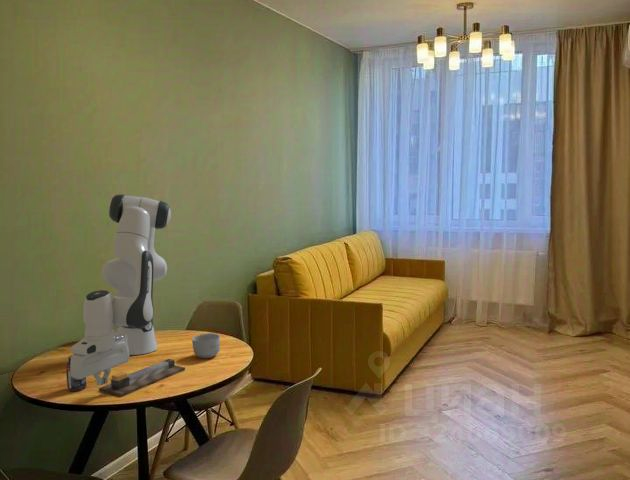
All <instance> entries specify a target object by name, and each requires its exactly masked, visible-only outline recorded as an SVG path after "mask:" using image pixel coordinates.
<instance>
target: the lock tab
mask: <svg viewBox="0 0 630 480" xmlns="http://www.w3.org/2000/svg"><path fill="white" fill-rule="evenodd" d="M127 375H128V373H127V372H123V371H120V372H118V373H115V374H112V375H111V380H115V381H119V380H122V379H124V378H127Z"/></svg>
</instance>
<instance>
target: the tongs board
mask: <svg viewBox="0 0 630 480" xmlns="http://www.w3.org/2000/svg"><path fill="white" fill-rule="evenodd" d="M175 363H176V362H175ZM175 363H174V364H171V365H169V366H166V367H164V368H161V369H159V370H156V371H154V372H151V373H149V374H146V375H144V376H141V377H139V378H136V379H134V380H131V381H129V377H127V378H124V379H122V380H119V381H115V380H112V379H110V383H108V384H105V385H103V386H101V387H98V392H102V393H105V394H110V395H114V396H117V397H121V398H123V397H125V396H127V395H130V394H132V393H134V392H136V391H140V390H141V389H143V388H146V387H149V386H150V385H153V384H154V383H157V382H160V381H163V380H165V379H167V378H169V377H172V376H175V375H177V374H179V373H180V372H183V371H186V367H184V366H180V365H175Z"/></svg>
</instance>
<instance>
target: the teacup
mask: <svg viewBox="0 0 630 480" xmlns="http://www.w3.org/2000/svg"><path fill="white" fill-rule="evenodd" d="M220 340H221V339H220V334H217V333H212V332H207V333H202V334H198V335H195V336H193V337H192V338H191V342H192V349H193V353H194V354H195V356H197V357H198V358H199V359H211V358H213V357H215V356H216V355H217V354H218V353H219V352H220V349H221V341H220Z"/></svg>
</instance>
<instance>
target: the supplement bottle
mask: <svg viewBox="0 0 630 480" xmlns="http://www.w3.org/2000/svg"><path fill="white" fill-rule="evenodd" d="M72 355H73V354H72ZM72 355H69V356H68V362H67V363H66V364H65V372H66V384H67V385H66V386H67V390H68V391H70V392H80V391H82V389H83V390H85V389H86V388H87V377H86V378H83V379H75V378H73V377H72V376H71V371H70V362H71V357H72ZM79 390H80V391H79Z"/></svg>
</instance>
